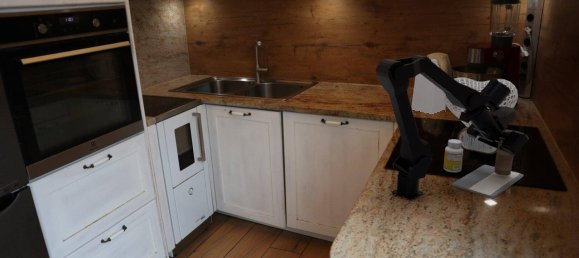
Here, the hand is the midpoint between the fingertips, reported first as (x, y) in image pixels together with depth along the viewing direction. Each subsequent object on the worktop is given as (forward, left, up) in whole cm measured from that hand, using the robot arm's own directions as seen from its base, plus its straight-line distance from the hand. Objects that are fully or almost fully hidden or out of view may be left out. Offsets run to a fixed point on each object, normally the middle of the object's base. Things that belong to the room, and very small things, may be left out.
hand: (508, 151), depth 126 cm
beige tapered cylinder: (-1, +1, -7) cm, 7 cm away
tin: (+18, +17, -9) cm, 26 cm away
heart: (+42, +29, -9) cm, 51 cm away
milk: (+56, +59, -9) cm, 81 cm away
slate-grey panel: (-6, +2, -8) cm, 11 cm away
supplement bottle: (-5, +15, -9) cm, 18 cm away
